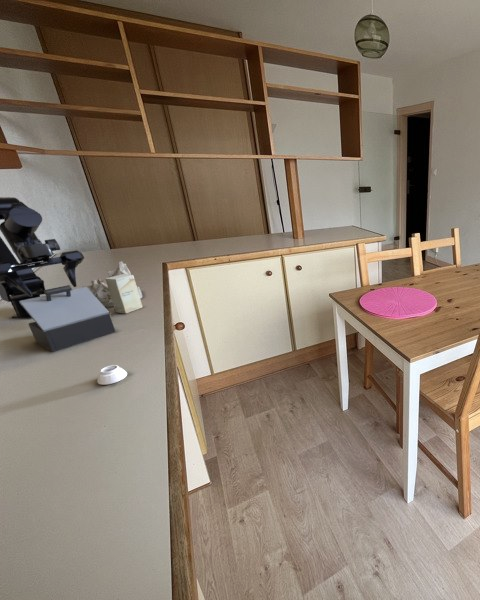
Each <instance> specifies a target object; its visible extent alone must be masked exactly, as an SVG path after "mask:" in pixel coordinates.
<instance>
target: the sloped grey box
mask: <svg viewBox="0 0 480 600" xmlns="http://www.w3.org/2000/svg"><path fill="white" fill-rule="evenodd" d="M28 328H29V329H30V331H31V333H32V336H33V338H34V340H35V342H36V343H37V344H38V345H40V346H42V347H43V348H45V349H46V350H48V351H50V352H52V353H54V352H57V351H61V350H63V349H66V348H70V347H74V346H75V345H76V346H77V345H79V344H82V343H86V342H88V341H92V340H94V339H98V338H101V337H103V336H108V335H110V334H112V333H116V328H115V326H114V324H113V319H112V317H111V314H110V313H109V314H106V315H102V316H98V317H95V318H91V319H88V320H84V321H81V322H77V323H73V324H70V325H66V326H63V327H59V328H56V329H52V330H48V331H45V332H43V330H42V329H41V328H40V327H39V326H38V324H37V323H36V322H35V321H33V322H29V323H28Z"/></svg>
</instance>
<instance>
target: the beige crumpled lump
mask: <svg viewBox="0 0 480 600" xmlns="http://www.w3.org/2000/svg"><path fill="white" fill-rule="evenodd" d="M129 269H130V268H128V266H127V263H124V262H123V261H118V266H117V268H116V270H109V271H107V274H108V278H110V277H113V276H118V275H121V274H130V275H132V274H131V271H130V270H129ZM136 286H137V284H136ZM84 287H87V288H88V289H89V290H90V291H91V292H92V293H93V295H94V296H95V297H96V298H97V299H98V300H99V301H100V302H101V303H102V305H103V306H104V307H105V308H111V307H114V305H113V302H112V298H111V295H110V292H109V289H108V286H107V283H106V280H105V279H102V278H98V279H94V280H91V285H83V286H82V287H81V288H84ZM137 289H138V293H139V296H140V299H142V298H143V293H142V290H141V287H140V286H137Z"/></svg>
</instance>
